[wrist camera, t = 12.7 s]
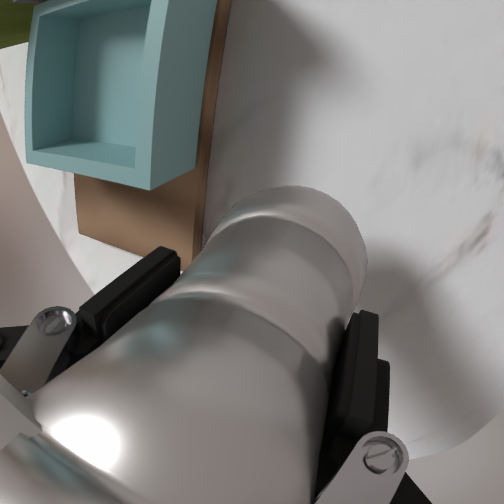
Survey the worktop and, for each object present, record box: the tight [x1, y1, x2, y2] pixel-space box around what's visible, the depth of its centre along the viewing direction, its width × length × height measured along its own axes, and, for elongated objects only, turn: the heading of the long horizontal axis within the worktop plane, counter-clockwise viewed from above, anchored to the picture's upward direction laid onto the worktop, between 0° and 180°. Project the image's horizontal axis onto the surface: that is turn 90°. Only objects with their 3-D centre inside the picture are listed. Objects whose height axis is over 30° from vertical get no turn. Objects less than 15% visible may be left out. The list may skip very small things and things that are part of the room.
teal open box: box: [25, 0, 217, 190], centre depth 16 cm, size 12×12×5 cm
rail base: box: [12, 0, 232, 271], centre depth 17 cm, size 22×12×8 cm, turn 171°
